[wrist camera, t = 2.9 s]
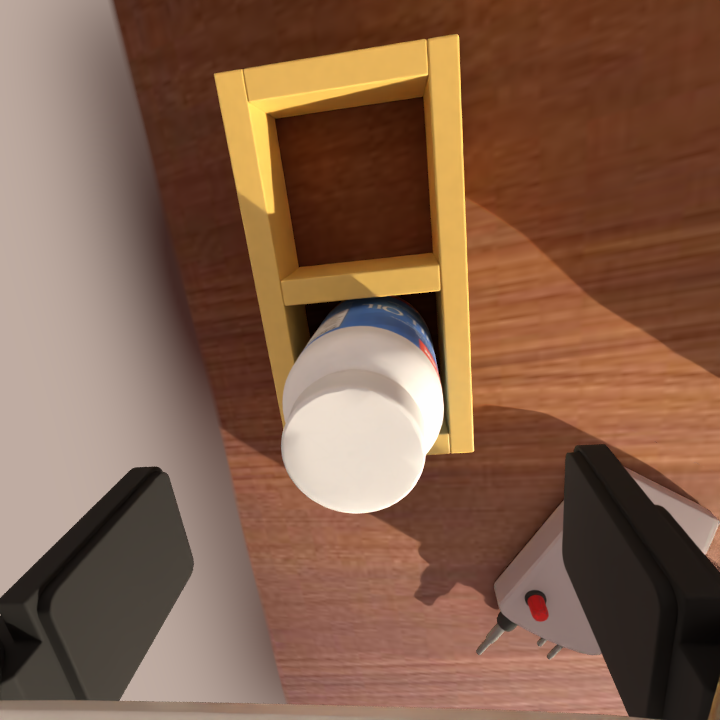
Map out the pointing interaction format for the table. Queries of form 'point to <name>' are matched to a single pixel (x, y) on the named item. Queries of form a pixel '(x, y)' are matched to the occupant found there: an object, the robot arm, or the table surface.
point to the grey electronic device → (553, 586)
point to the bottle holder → (365, 277)
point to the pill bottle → (362, 406)
